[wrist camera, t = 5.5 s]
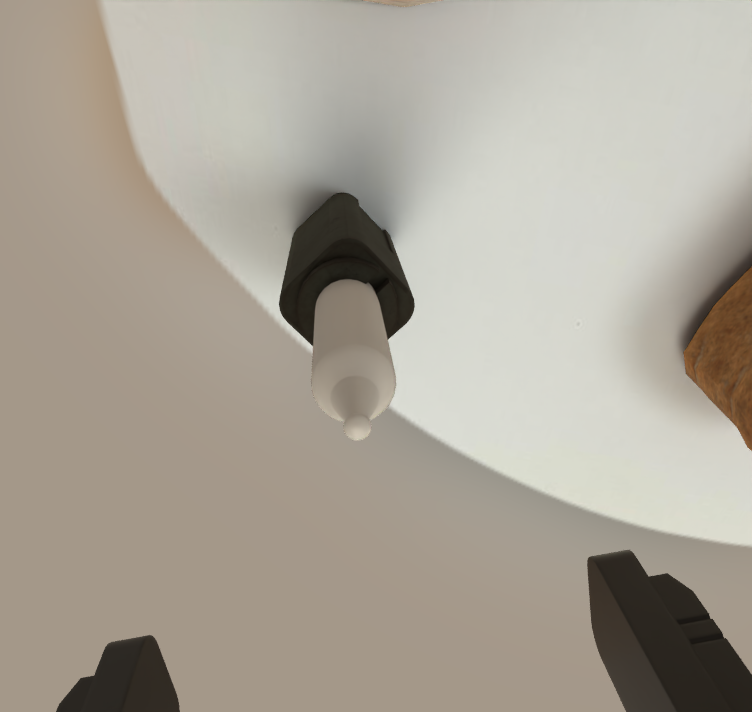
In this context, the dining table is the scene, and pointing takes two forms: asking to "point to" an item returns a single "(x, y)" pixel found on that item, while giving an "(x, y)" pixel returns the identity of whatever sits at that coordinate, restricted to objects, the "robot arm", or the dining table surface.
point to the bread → (726, 355)
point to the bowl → (403, 2)
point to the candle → (347, 309)
